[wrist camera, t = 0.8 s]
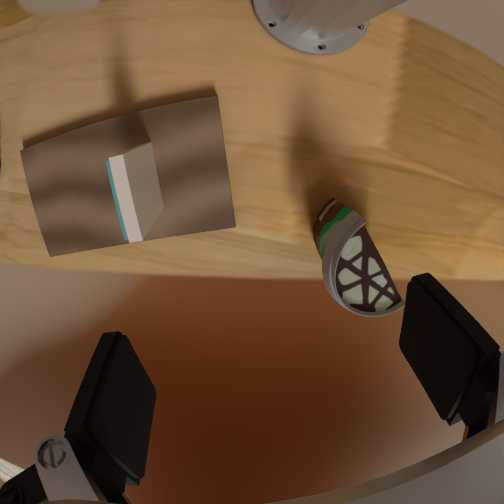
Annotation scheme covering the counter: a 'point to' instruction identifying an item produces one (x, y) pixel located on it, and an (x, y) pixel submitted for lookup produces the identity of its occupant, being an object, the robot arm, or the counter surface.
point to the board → (98, 184)
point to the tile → (135, 190)
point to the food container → (353, 263)
